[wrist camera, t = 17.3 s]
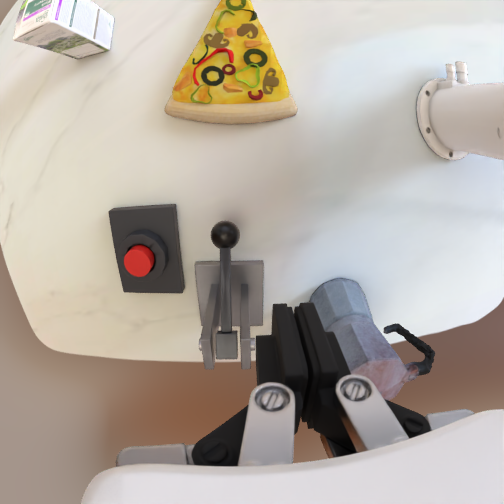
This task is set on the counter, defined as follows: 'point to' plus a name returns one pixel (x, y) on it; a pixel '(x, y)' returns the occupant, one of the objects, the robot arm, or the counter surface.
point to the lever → (225, 288)
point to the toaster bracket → (242, 304)
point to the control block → (149, 246)
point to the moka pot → (367, 337)
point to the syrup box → (65, 27)
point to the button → (139, 260)
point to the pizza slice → (232, 73)
